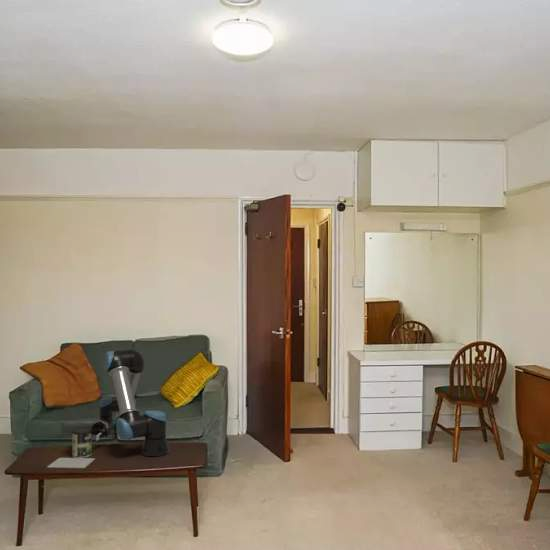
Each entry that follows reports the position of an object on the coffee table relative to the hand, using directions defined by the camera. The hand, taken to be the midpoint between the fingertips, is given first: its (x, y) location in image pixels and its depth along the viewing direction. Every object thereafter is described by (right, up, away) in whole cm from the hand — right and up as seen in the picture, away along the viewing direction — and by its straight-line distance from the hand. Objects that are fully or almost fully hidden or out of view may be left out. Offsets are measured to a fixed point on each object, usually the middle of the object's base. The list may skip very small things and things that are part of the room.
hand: (84, 438), depth 298 cm
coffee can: (0, -8, -5) cm, 10 cm away
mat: (-1, -8, -18) cm, 20 cm away
